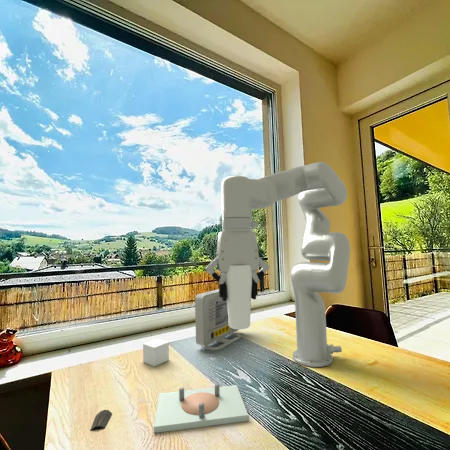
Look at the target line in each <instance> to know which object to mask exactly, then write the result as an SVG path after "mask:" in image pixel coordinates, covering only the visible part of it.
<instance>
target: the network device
mask: <svg viewBox="0 0 450 450" xmlns="http://www.w3.org/2000/svg"><path fill="white" fill-rule="evenodd" d="M194 306H195V307H194V309H195V311H194V313H195V342H196V344H197V345H199V346H200V347H201V348H202V349H206V350H210V351H218V350H220V349H222V348H224V347H226V346H229V345H230V344H232V343H233V342H235V341H237V340H239V339H241V337H242V336H241V334H240V333H236V332H238V331H239V329H232V328H230V327H229V325H228V310H227V300H226V301H223V300H222V298H221V297H219V288H218V289H214V290H210V291H206V292H202V293H197V294H196V295H195V297H194ZM230 335H231V336H234V338H232V339H227V338H226V337H228V336H230ZM215 342H216V343H222V344H220V345H217V346H215V347H214V346H211V345H212V344H214V343H215Z"/></svg>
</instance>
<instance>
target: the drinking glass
mask: <svg viewBox="0 0 450 450" xmlns="http://www.w3.org/2000/svg"><path fill="white" fill-rule="evenodd" d="M225 284H226V300H227V310H228V325H229V327H230V328H232V329H239V330H246V329H249V327H250V326H251V307H252V298H251V294H252V271H251V267H250V265H237V266H235V265H230V268H229V272H228V273H227V276H226V279H225ZM239 330H238V331H239Z"/></svg>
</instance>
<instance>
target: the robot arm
mask: <svg viewBox="0 0 450 450" xmlns="http://www.w3.org/2000/svg"><path fill="white" fill-rule="evenodd" d="M220 187H221V189H220V190H221V191H220V192H221V231H220V232H218V235H217V243H216V256H215V258H214V259H213V260H212V261H211V262H210V263H209V264H208V265H206V266H205V271H207V273H209V275H210V276H211V277H212V278H213V279H214V280H215V281H216V282H218V289H219V297H221V298H222V300H223V301H226V284H225V279H226V276H227V273H228V272H229V268H230V265H235V266H237V265H250V267H251V271H252V294H251V300H254V301H255V300H257V296H258V295H259V287H258V284H259V282H260V280H261V279H262V278H263V276H264V275H265V274H266V273H267V271H268V270H269V269H270V265H269V264H268V263H267V262H266V261H264V260H263V259H262V258H261V257H260V255H259V246H258V241H257V235H256V232H255V231H253V229H254V228H258V226H259V225H258V221H254V219H253V210H259V209H266V208H268V207H272V206H273V205H274V204H275V203H276V202H279V201H282V200H287V199H290V198H292V197H294V196H297V200H298V204H299V206H300V208H301V210H302V213H303V216H304V219H305V226H304V231H303V235H302V236H303V237H302V241H301V248H300V252H301V255H302V257H303V258H304V259H305V260H309V261H300V262H297V263H296V264H294V265H293V266H292V268H291V270H290V280H291V284H292V285H291V286H292V289H293V294H294V308H295V330H296V350H294V351H293V352H292V359H293V360H294V361H295V362H296V363H298V364H300V365H303V366H306V367H312V368H321V367H328V366H330V365H331V364H333V362H334V358H333V354H334V353H337V354H338V353H342V352H343V351H342V347H341V346H340V345H337V346H336V345H335V346H334V344H332V343H331V344H328V338H327V337H328V336H327V318H326V317H327V316H326V315H327V314H326V306H325V301H324V299H323V298H322V295H321V294H320V293H325V294H341V293H342V292H343V291H344V290H345V288H346V285H347V280H348V272H349V264H350V258H351V257H350V255H351V244H350V239H349V238H348V235H346V234H345V233H342V232H338V231H337V232H336V231H335V232H334V231H333V232H332V231H330V230H331V221H330V219H329V217H328V216H327V215H326V214H325V213H324V212H323V210H321V209H322V208H330V207H337V206H341V205H343V204H344V203H346V201H347V199H348V191H347V186H346V184H345V183H344V182H343V180H342V179H341V178H340V177H339V175H338V174H337V172H336V171H335V170H334V169H333V168H332V167H331V165H329V164H328V163H326V162H325V161H324V162H323V161H318V162H313V163H309V164H305V165H301V166H297V167H293V168H290V169H287V170H281V171H279V172H275V173H273V174H272V173H271V174H268V175H266V176H264V177H261V178H258V179H255V178H254V179H253V178H249V177H247V176H243V175H230V176H226V177H224V178H223V179H222V181H221V186H220ZM320 208H321V209H320ZM319 261H320V262H319ZM321 261H322V262H321ZM323 261H324V262H323ZM325 261H326V262H325ZM215 267H216V269H217V270H218V271H220V273H219V274H218V273H217V272H216V271H215V270H214V268H215ZM260 267H261V268H260ZM259 268H260V269H259ZM258 270H259V271H258Z"/></svg>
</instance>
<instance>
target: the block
mask: <svg viewBox="0 0 450 450" xmlns="http://www.w3.org/2000/svg"><path fill="white" fill-rule="evenodd" d="M112 415H113V412H112V411H110V410H109V409H103V410H100V411H99V412H98V413H97V414H96V415H95V417H94V420H93V422H92V424H91V427H90V431H97V430H104V429H106V427H107V425H108V423H109V421H110V419H111V417H112Z"/></svg>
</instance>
